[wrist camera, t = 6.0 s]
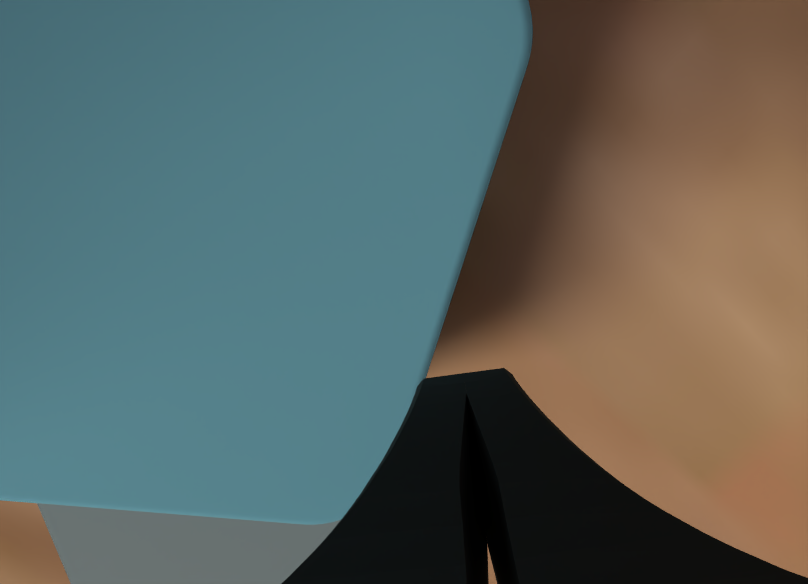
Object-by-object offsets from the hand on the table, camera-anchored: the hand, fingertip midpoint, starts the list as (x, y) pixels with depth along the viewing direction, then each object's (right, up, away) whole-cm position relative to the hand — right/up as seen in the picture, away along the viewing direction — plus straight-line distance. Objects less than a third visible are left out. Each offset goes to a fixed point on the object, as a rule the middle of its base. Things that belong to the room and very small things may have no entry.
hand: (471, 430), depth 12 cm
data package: (0, +3, +5) cm, 6 cm away
